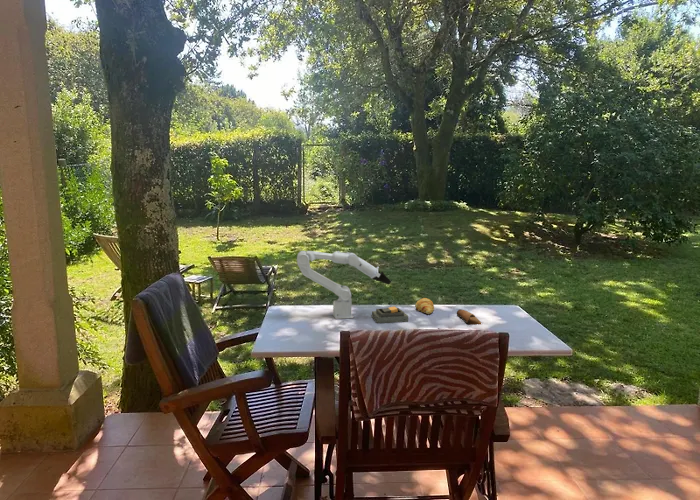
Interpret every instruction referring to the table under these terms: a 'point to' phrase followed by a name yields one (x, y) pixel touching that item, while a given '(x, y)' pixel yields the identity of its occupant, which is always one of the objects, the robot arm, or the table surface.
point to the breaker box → (389, 316)
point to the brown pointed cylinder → (468, 317)
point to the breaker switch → (390, 310)
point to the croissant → (425, 305)
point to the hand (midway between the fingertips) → (388, 282)
